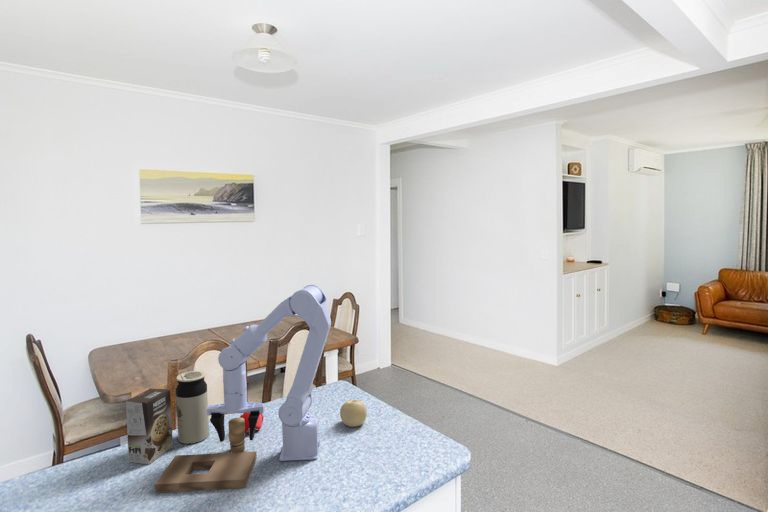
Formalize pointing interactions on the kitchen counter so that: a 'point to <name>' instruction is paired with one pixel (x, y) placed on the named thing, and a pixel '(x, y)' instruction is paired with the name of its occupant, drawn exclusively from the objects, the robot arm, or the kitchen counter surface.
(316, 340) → the robot arm
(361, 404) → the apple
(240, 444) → the oak peg
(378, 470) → the kitchen counter surface
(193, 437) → the travel mug
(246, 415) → the cap
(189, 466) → the walnut board
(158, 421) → the coffee box
